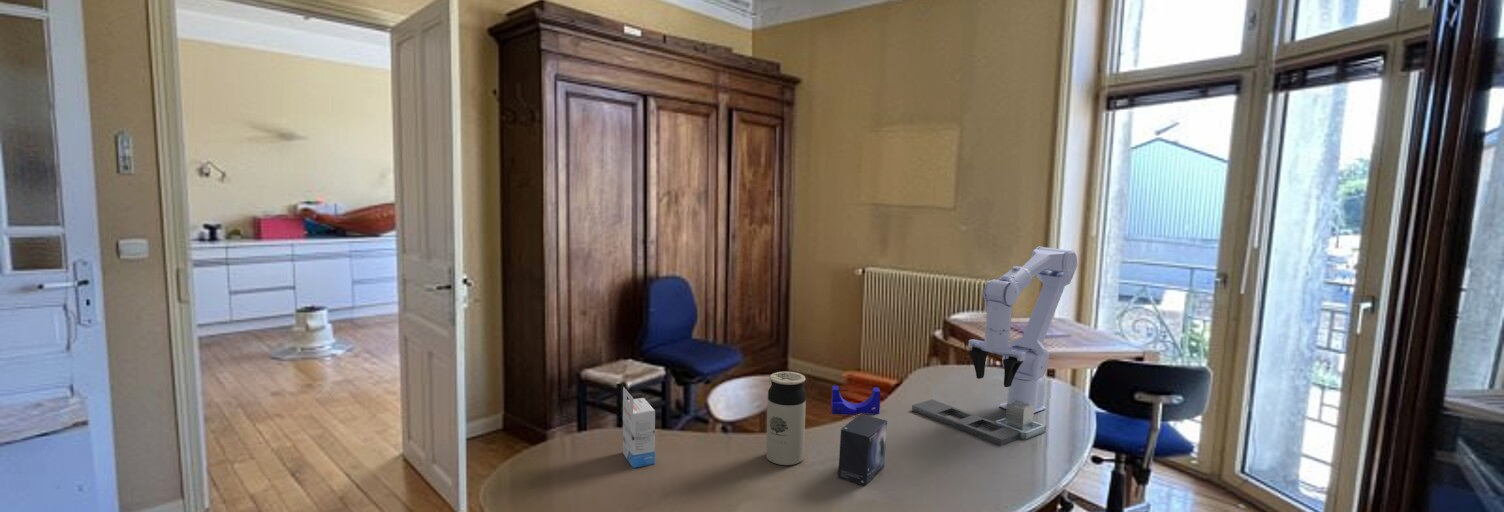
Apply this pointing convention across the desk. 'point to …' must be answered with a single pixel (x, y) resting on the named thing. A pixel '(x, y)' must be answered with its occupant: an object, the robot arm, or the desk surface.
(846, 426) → the small box
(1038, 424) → the parts tray
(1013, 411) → the grey rectangular block
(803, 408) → the travel mug
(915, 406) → the rail
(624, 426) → the ink box
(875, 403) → the blue cradle stand
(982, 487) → the desk surface
